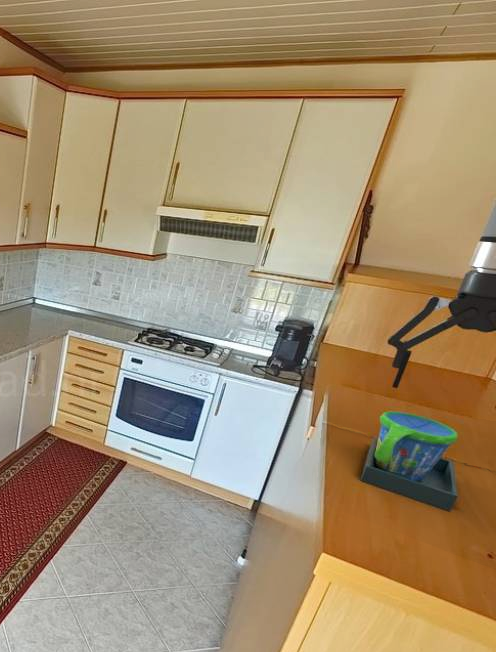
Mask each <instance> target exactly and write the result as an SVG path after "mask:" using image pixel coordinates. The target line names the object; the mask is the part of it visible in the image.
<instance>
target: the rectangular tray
mask: <svg viewBox="0 0 496 652" xmlns="http://www.w3.org/2000/svg"><path fill="white" fill-rule="evenodd" d="M377 442H378V438H377V437H373V439H372V441H371V444H370V446H369V449H368V451H367V455H366V459H365V462H364V465H363V469H362V473H361V476H360V480H359V481H360V482H363V483H365V484H369V485H371V486H374V487H378V488H380V489H383V490H386V491H389V492H392V493H395V494H397V495H401V496H404V497H406V498H409V499H412V500H415V501H418V502H420V503H424V504H426V505H430V506H433V507H435V508H438V509H441V510H444V511H447V512H450V513H451V510H452V509H453V507H454V505H455V503H456V502H457V499H458V497H459V495H458V489H457V480H456V472H455V466H454V465H455V463H454V461H453V460H450V459H448V458H443V457H441V458H440V459H439V460H438V461H437V463H436V464H435V465H434V466H433V468H432V469H431V470H430V472H429V473H428V474H427V476H426V477H425V478H424V479H423V480H420V481H413V480H410V479H407V478H404V477H401V476H398V475H395V474H392V473H389V472H386V471H383V470H380V469H378V467H377V466H375V465H374V455H375V451H376V447H377Z"/></svg>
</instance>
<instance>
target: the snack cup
mask: <svg viewBox="0 0 496 652" xmlns="http://www.w3.org/2000/svg"><path fill="white" fill-rule="evenodd" d="M379 422H380V426H381V427H380V430H379V434H378V438H377V439H378V442H377V447H376V451H375V455H374V465H375V466H377V467H378V469H380V470H383V471H386V472H389V473H392V474H395V475H398V476H401V477H404V478H407V479H410V480H413V481H420V480H423V479H424V478H425V477H426V476H427V474H428V473H429V472H430V470H431V469H432V468H433V466H434V465H435V464H436V463H437V461H438V460H439V459H440V458H442V457H443V455H444V453H445V452H446V451H447V449H448V448H449V447H450V446H451V445H453V444H454V443H455V442H456V441H457V440H458V438H459V435H458V432H457V431H456V430H455V429H453V428H452V427H451V426H449V425H446V424H444V423H442V422H440V421H437V420H435V419H431V418H428V417H425V416H421V415H418V414H413V413H410V412H404V411H403V412H402V411H385V412H384V413H382V415H381V416H379Z"/></svg>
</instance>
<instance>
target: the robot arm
mask: <svg viewBox="0 0 496 652" xmlns="http://www.w3.org/2000/svg"><path fill="white" fill-rule="evenodd" d="M494 200H495V201H494V202H493V206H492V208H491V211H490V213H489V216H488V219H487V221H486V223H485V226H484V228H483V230H482V233H481V236H480V239H479V241H478V242H477V245H476V247H475V249H474V252H473V254H472V257H471V259H470V261H469V264H468V266H469V268H472V269H471V270H467V272H465V274H464V276H463V278H462V281H461V283H460V286H459V288H458V290H457V293H456V295H455V297H453V298H452V299H446V298H443V297H439V296H438V295H431V296H430V297H429V299H428V300H427V302H426V303H425V306H424V307H423V308H422V309H420V310H419V312H418V313H416V314H415V315H414V316H412V318H410V319H409V320H408V321H407V322H406V323H404V324H403V325H402V326H401V327H400V328H399V329H398V330H396V331H395V332H394V333H393V334H392V335H391V336H390V337H388V339H387V344H388V345H389V346H392V347H394V348H395V349H396V353H395V356H394V358H393V360H392V363H391V366H392V368H395V369H398V370H397V372H396V375H395V377H394V380H393V382H392V386H391V387H392V388H394V389H398V388H399V385H400V383H401V381H402V379H403V375H404V373H405V371H406V368H407V365H408V363H409V360H410V358H411V356H412V350H409V349H412V348H413V347H415V346H417V345H419V344H421V343H424V342H425V341H428V340H429V339H431V338H433V337H435V336H437V335H438V334H440V333H443V332H445V331H446V330H449V329H451V328H453V327H455V326H457V327H458V328H460V329H462V330H468V331H472V330H474V331H475V330H476V331H478V332H480V333H484V334H485V333H486V334H488V333H493V332H496V198H495V199H494ZM445 307H447V308H448V310H449V313H450V314H451V316H449V317H446V318H445V319H443V320H441V321H440V322H438V323H436V324H434V325H432V326H431V327H429V328H427V329H425V330H423V331H421V332H420V333H419V332H418V334H415V335H414V336H412V337H409V338H408V339H407V340H404V341H402V339H403V338H404V337H405V336H406V335H408V334H409V333H410V332H411V331H412V330H413V329H415V328H416V327H417V326H418V325H419V324H421V323H422V322H423V321H424V320H425V319H426V318H428V317H429V316H430V315H431V314H432V313H433V311H436V312H438V311H440V310H441V309H442V308H445ZM494 408H495V410H496V405H495V406H494Z"/></svg>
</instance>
